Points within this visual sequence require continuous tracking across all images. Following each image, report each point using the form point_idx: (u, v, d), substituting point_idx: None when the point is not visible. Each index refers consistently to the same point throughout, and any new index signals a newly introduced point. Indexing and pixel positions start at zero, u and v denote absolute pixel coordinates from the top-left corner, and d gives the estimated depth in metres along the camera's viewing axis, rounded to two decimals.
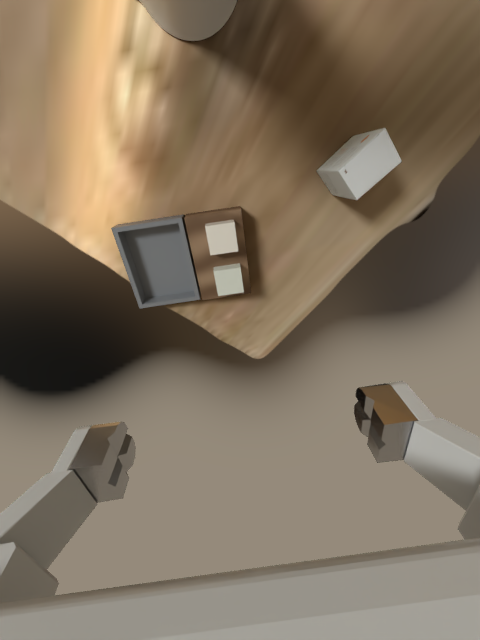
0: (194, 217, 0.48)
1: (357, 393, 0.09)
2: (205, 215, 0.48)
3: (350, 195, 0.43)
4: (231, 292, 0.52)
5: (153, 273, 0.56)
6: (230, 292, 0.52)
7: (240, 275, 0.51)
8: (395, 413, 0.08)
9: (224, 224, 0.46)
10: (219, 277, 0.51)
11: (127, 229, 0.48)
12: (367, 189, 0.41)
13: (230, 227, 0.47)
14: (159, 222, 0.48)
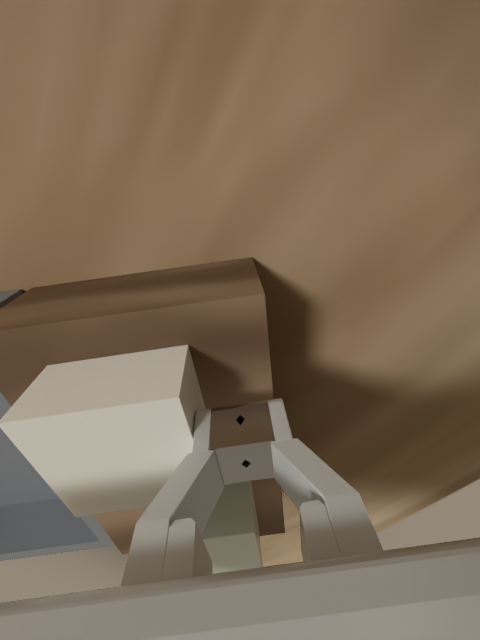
0: (15, 334, 0.09)
1: None
2: (74, 323, 0.09)
3: None
4: None
5: None
6: None
7: (253, 549, 0.12)
8: (258, 432, 0.08)
9: (118, 409, 0.08)
10: None
11: None
12: None
13: (158, 420, 0.08)
14: None
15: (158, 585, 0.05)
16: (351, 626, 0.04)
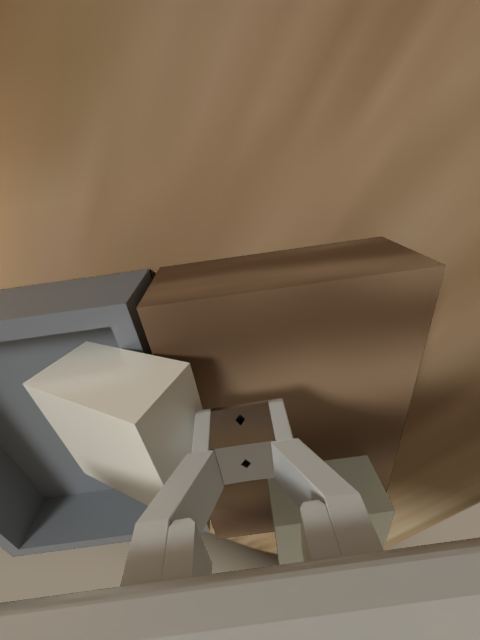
0: (192, 306, 0.09)
1: None
2: (251, 296, 0.09)
3: None
4: None
5: (56, 446, 0.17)
6: None
7: (385, 529, 0.12)
8: (258, 432, 0.08)
9: (92, 411, 0.08)
10: (296, 538, 0.12)
11: None
12: None
13: (122, 435, 0.08)
14: (12, 323, 0.09)
15: (158, 585, 0.05)
16: (351, 626, 0.04)
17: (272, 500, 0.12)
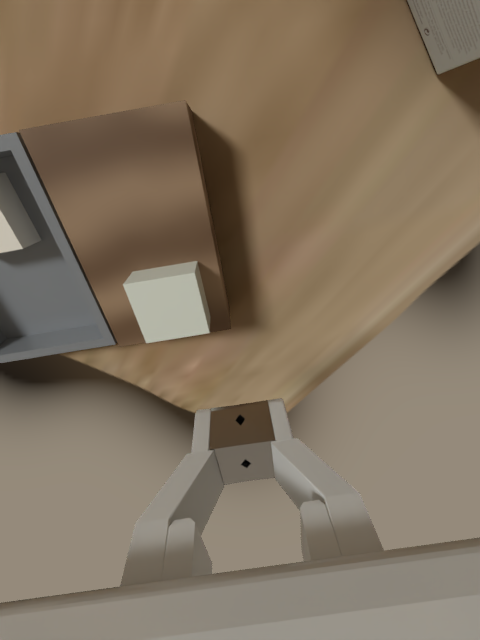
0: (49, 129, 0.16)
1: None
2: (81, 122, 0.16)
3: None
4: (178, 334, 0.21)
5: (8, 287, 0.25)
6: (175, 334, 0.21)
7: (196, 293, 0.19)
8: (258, 432, 0.08)
9: None
10: (141, 299, 0.19)
11: None
12: None
13: None
14: None
15: (158, 585, 0.05)
16: (351, 626, 0.04)
17: (127, 278, 0.20)
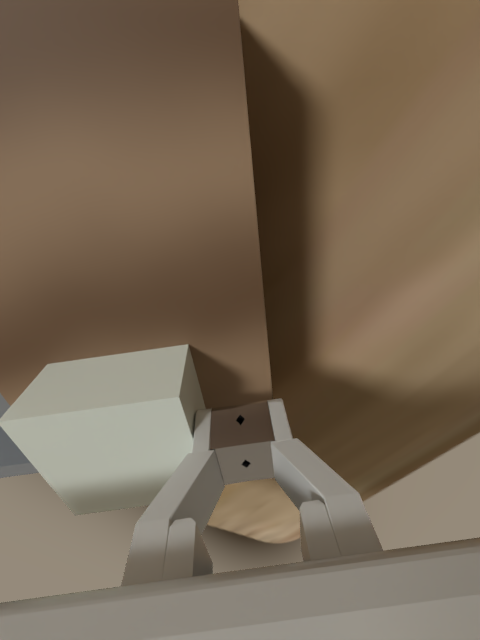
0: None
1: None
2: None
3: None
4: (144, 499, 0.10)
5: None
6: (138, 500, 0.10)
7: (183, 435, 0.08)
8: (258, 432, 0.08)
9: None
10: (51, 448, 0.08)
11: None
12: None
13: None
14: None
15: (158, 585, 0.05)
16: (351, 626, 0.04)
17: (22, 394, 0.08)
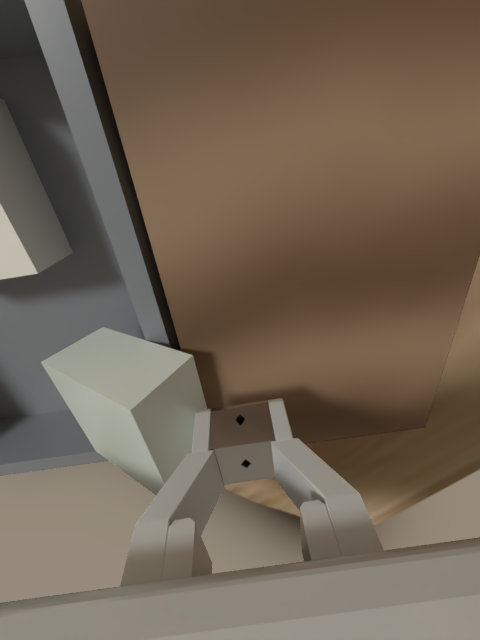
0: None
1: None
2: None
3: None
4: (131, 473, 0.11)
5: (1, 337, 0.13)
6: (127, 470, 0.11)
7: (142, 444, 0.08)
8: (258, 432, 0.08)
9: None
10: (69, 397, 0.10)
11: None
12: None
13: None
14: None
15: (158, 585, 0.05)
16: (351, 626, 0.04)
17: (69, 346, 0.10)
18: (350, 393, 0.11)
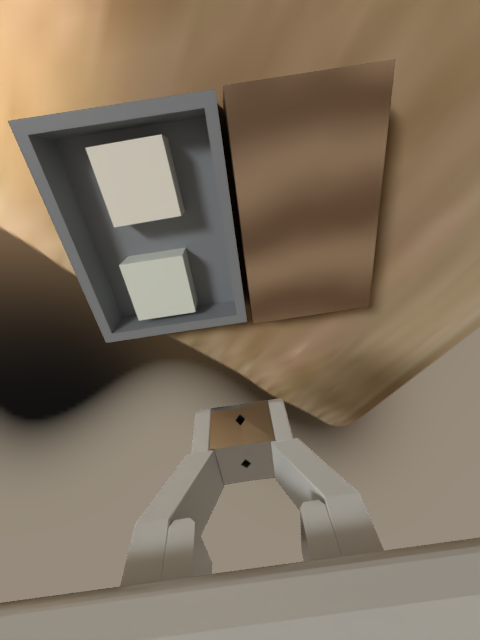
0: (254, 85, 0.16)
1: None
2: (287, 79, 0.16)
3: None
4: None
5: None
6: None
7: None
8: (258, 432, 0.08)
9: None
10: None
11: (56, 126, 0.17)
12: None
13: None
14: (149, 102, 0.16)
15: (158, 585, 0.05)
16: (351, 626, 0.04)
17: (183, 250, 0.23)
18: (326, 281, 0.22)
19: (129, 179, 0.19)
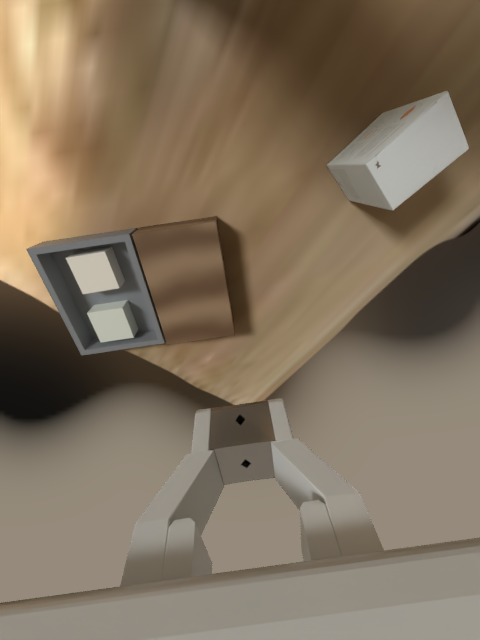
0: (147, 233, 0.32)
1: None
2: (163, 230, 0.32)
3: (382, 202, 0.27)
4: None
5: None
6: None
7: None
8: (258, 432, 0.08)
9: None
10: None
11: (50, 250, 0.33)
12: (410, 193, 0.26)
13: None
14: (96, 240, 0.33)
15: (158, 585, 0.05)
16: (351, 626, 0.04)
17: (125, 303, 0.39)
18: (206, 322, 0.39)
19: (89, 271, 0.35)
